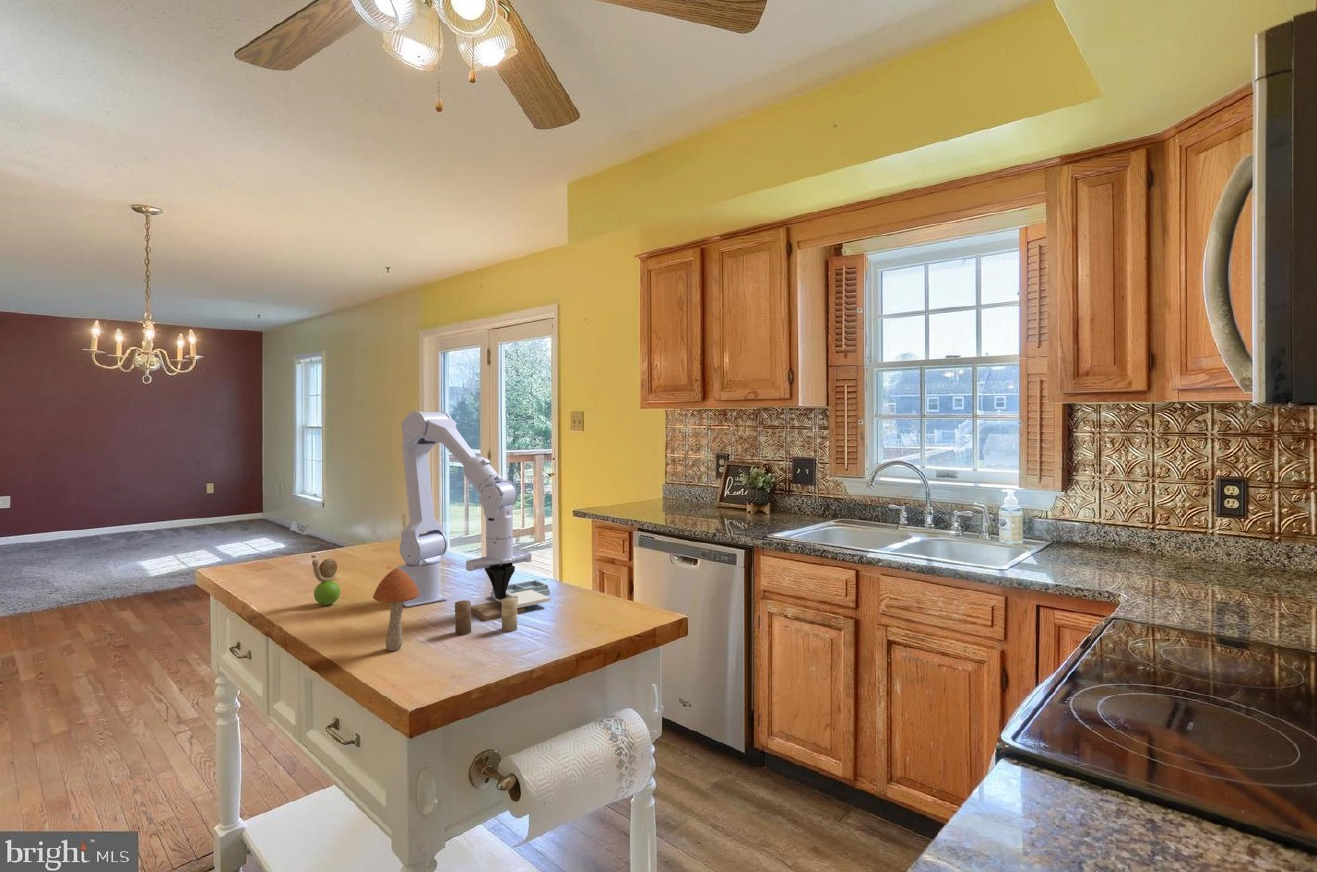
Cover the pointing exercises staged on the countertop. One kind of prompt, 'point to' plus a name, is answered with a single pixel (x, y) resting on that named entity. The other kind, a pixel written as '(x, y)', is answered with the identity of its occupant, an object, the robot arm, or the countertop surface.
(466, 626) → the walnut peg
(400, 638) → the mushroom
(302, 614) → the countertop surface
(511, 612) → the maple peg
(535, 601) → the cover
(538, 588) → the socket board
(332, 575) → the snail figurine
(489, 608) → the board
